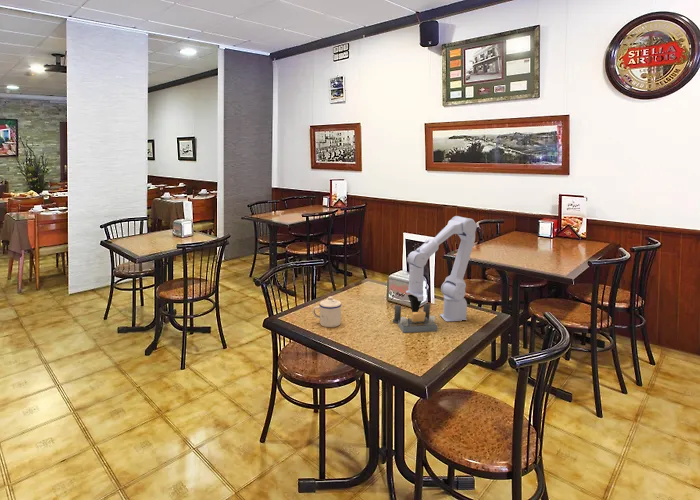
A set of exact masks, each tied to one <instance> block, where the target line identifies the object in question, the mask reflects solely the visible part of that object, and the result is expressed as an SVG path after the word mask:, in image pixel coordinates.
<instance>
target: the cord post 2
mask: <svg viewBox="0 0 700 500" xmlns="http://www.w3.org/2000/svg"><path fill="white" fill-rule="evenodd" d="M422 310H423V311H422V312H425V313H426V315H425V317H427V318H429V316H430V311H431V305H430V304H429V303H424V304H423V309H422Z"/></svg>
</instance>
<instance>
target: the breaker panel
mask: <svg viewBox="0 0 700 500" xmlns="http://www.w3.org/2000/svg"><path fill="white" fill-rule="evenodd" d="M411 319H412V318H410V317H406V316H401V320H398V324H397V326H398V328H399V329H400V330H401V332H402V333H403V334H407V333H408V334H409V333H422V332H423V333H425V332H427V333H428V332H438V324H437V323H436V322H435V319H436V316H435V315H429V318H427V317H425V319H424V320H425V322H411Z"/></svg>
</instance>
